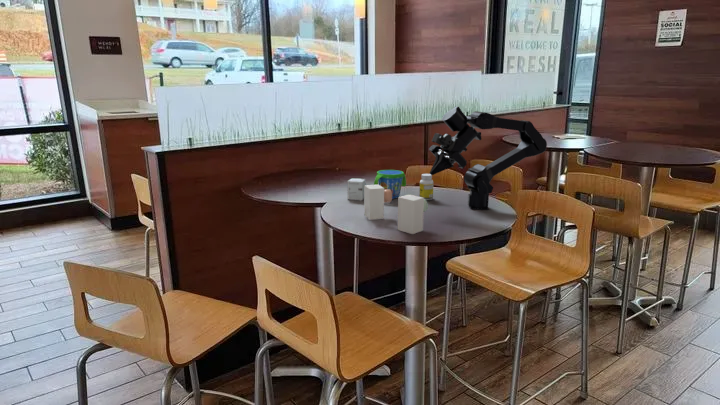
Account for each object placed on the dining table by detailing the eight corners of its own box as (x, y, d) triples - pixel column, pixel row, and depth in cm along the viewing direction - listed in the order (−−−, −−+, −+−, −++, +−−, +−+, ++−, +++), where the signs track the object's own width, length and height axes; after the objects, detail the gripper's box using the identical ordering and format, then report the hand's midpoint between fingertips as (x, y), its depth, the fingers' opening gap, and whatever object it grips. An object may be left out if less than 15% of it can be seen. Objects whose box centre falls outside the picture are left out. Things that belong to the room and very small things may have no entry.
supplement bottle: (418, 197, 192) (419, 173, 190) (432, 197, 192) (433, 173, 190) (419, 200, 187) (420, 176, 185) (433, 200, 187) (434, 176, 185)
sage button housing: (408, 226, 156) (408, 194, 153) (422, 230, 151) (423, 197, 149) (397, 229, 152) (398, 197, 150) (412, 234, 148) (413, 200, 145)
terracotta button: (387, 200, 168) (387, 187, 167) (392, 203, 164) (392, 190, 163) (369, 201, 167) (369, 189, 166) (373, 205, 163) (373, 192, 161)
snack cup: (397, 192, 201) (397, 167, 198) (413, 197, 192) (414, 171, 190) (366, 197, 193) (366, 171, 190) (381, 202, 184) (382, 176, 182)
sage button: (416, 210, 156) (417, 197, 155) (427, 213, 153) (428, 199, 152) (403, 214, 152) (403, 200, 150) (414, 217, 148) (414, 203, 147)
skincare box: (347, 199, 189) (347, 181, 187) (351, 195, 195) (351, 177, 193) (362, 200, 188) (362, 181, 186) (366, 196, 193) (366, 178, 192)
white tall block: (378, 213, 170) (378, 184, 167) (383, 218, 164) (384, 188, 161) (364, 215, 168) (364, 185, 165) (369, 219, 163) (369, 189, 160)
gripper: (434, 122, 174) (405, 154, 174) (460, 127, 157) (427, 163, 157) (453, 143, 178) (425, 174, 178) (480, 150, 161) (448, 185, 161)
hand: (430, 174), depth 168 cm, fingers closed
